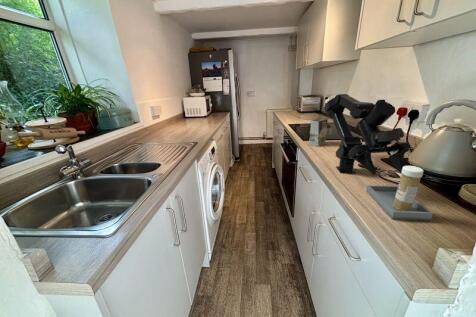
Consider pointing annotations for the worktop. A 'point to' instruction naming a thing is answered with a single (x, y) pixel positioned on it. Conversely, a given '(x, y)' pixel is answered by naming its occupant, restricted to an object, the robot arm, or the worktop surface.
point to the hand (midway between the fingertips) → (388, 173)
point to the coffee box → (318, 132)
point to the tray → (386, 199)
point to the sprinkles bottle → (407, 188)
